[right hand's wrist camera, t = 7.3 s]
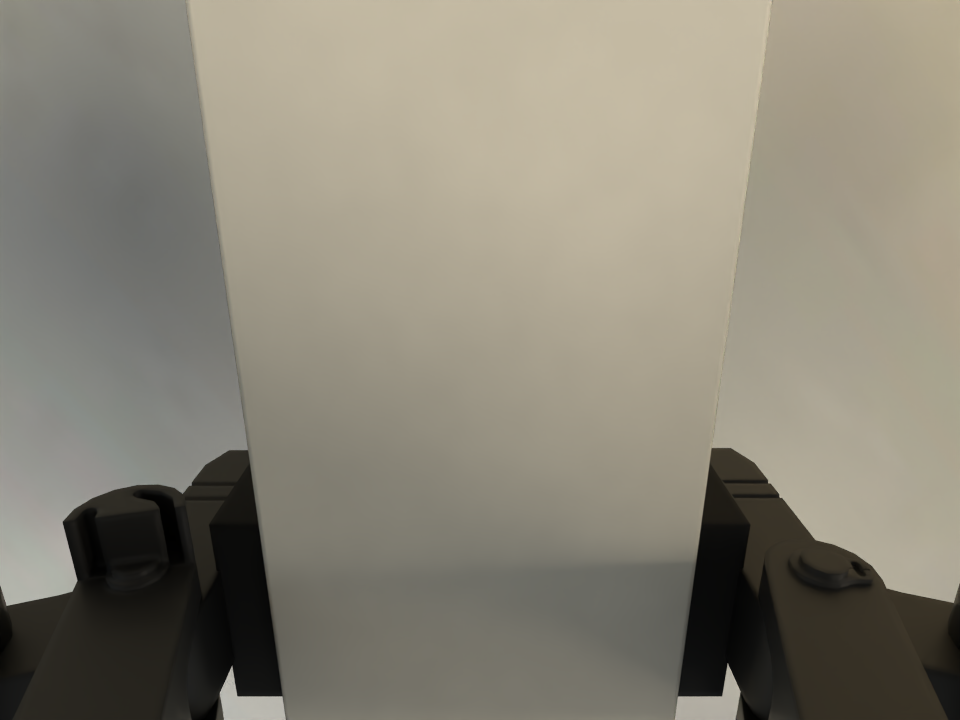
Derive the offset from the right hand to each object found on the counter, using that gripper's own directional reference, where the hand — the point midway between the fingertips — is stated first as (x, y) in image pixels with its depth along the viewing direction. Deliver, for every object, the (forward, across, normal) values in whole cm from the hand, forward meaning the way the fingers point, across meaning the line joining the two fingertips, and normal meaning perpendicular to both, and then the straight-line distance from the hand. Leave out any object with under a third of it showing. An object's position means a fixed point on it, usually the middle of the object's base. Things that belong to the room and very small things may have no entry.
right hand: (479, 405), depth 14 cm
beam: (0, 0, -18) cm, 18 cm away
